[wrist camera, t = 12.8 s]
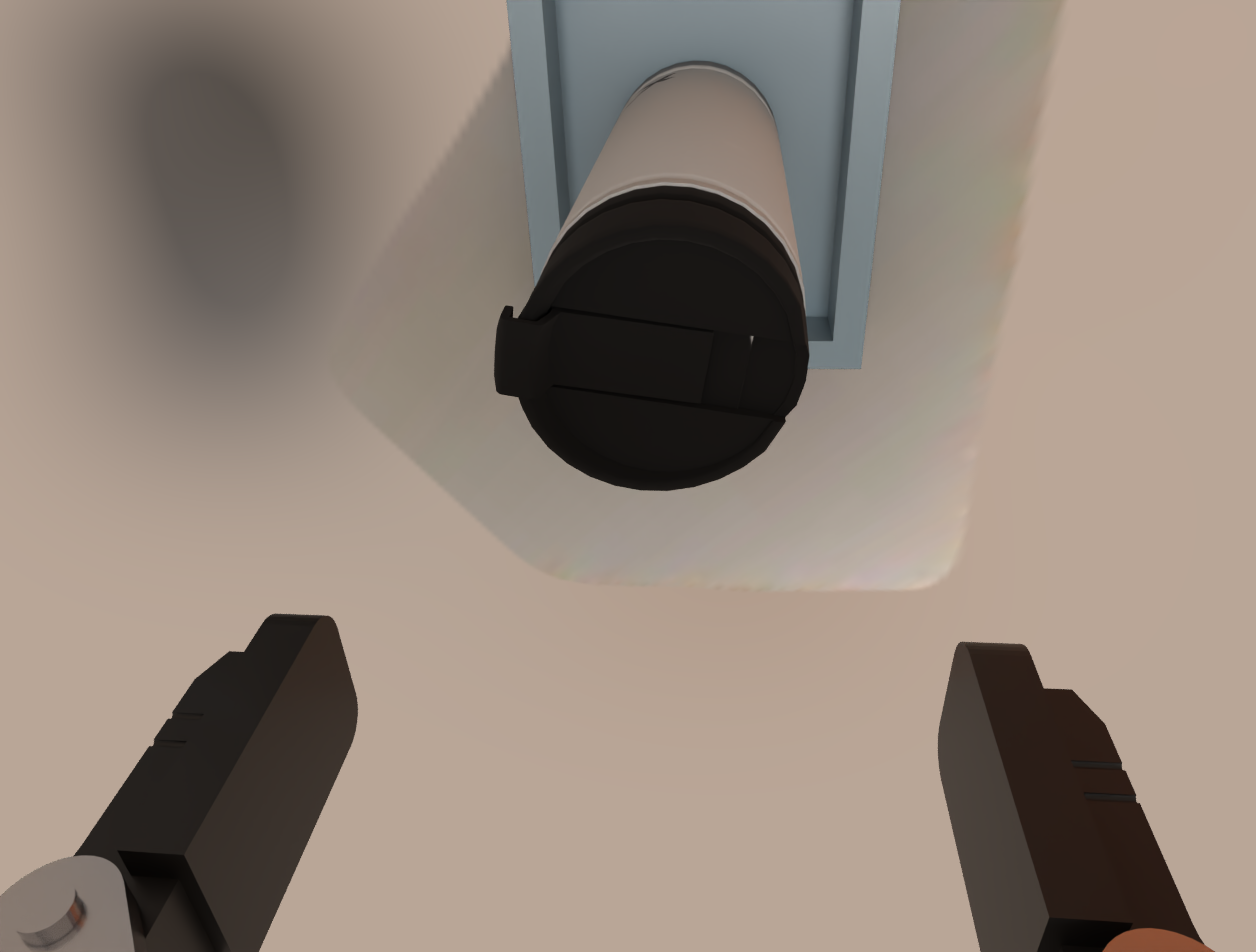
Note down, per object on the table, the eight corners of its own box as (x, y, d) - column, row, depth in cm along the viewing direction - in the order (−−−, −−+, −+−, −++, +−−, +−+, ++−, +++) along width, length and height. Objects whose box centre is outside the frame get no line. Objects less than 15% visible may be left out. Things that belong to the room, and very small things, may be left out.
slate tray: (519, -86, 32) (498, -83, 30) (895, -103, 31) (911, -102, 28) (556, 332, 41) (542, 366, 38) (851, 333, 40) (861, 369, 37)
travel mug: (617, 45, 34) (497, 202, 17) (795, 73, 33) (853, 260, 17) (598, 213, 37) (483, 483, 20) (759, 239, 37) (778, 532, 20)
